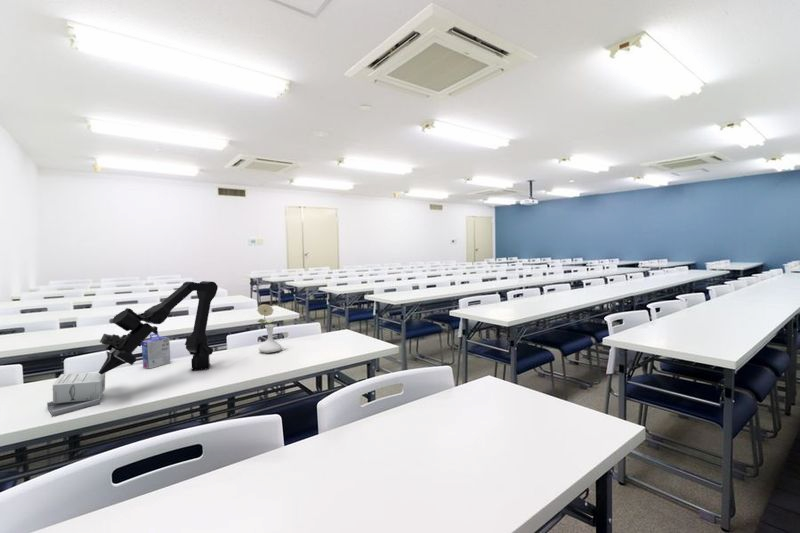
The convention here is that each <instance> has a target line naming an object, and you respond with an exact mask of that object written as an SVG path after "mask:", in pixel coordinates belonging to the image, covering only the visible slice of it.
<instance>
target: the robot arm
mask: <svg viewBox="0 0 800 533" xmlns="http://www.w3.org/2000/svg"><path fill="white" fill-rule="evenodd" d="M218 288H219V287H218V285H217V283H216V282H215V281H210V280H209V281H208V280H206V281H205V280H204V281H203V280H202V281H199V282H194V281H185V282H183V284H182V285H181V286H180V287H178V288H177V289H175V291H174V292H172V293H171V294H170V295H169V296H168V297H166V298H165V299H164V300H162V301H161V302H160V303H157V304H155V305H152V306H151V307H149V308H148V309H146V310H145V311H144V312H141V313H138V314H137V313H136V312H135V311H134V310H133V309H131V308H128V307H126V308H125V309H123V310H122V311H120V312H119V313H117V314H115V315H114V317H113V319H112V323H113V324H114V325H116V326H118V327H119V328H121V329H122V330H124V331H125V332H129V333H127V334H123V335H121V336H120V335H118V334H114V333H113V334H108V333H103V334H102V337H101V339H100V340H99V343H101V345H104V346H103V348H104V349H105V350H106V359H105V361H104V362H103V364H102V366H101V368H100V369H99V371H98V372H99V373H100V374H104V373H105V374H106V373H107V372H109V371H111V370H113V369H115V368H118V367H120V366H123V365H125V364H126V363H128V364H129V365H130V366H133V365H134V364H135V362H136V361H137V357H136V356H135V355H134V354H133V352H134V351H135V350H136V349H137V348H138V347H139V348H141V347H142V342H143V341H146V340H147V338H148V337H150V335H151V334H158V335H159V333H158V332H159V331H158V327H157V326H155V325H160V324H163V323H164V322H165V320H167V318H168V317H169V316H170V315H171V312H172V310H173V309H174V308H175V307H176V306H178V304H180V303H181V302H182V301H183V300H185V299H186V298H187V297H188V296H189V295H190V294H192V293H193V292H194V291H195V292H196V297H197V298H198V304H197V309H196V314H195V318H194V324H193V329H192V333H191V334H190V335H186V339H185V343H184V346H185V349H186V350H187V351H188V353H189V354H190V356H191V355H192V357H191V361H190V362H191V370H192V371H193V372H194V371H200V370H209V368H210V367H211V363H210V362H211V360H210V358H211V357H210V355H212V354H213V353H214V352H213V351H214V348H212V347H211V346H209V345H208V344H209V343H208V337H207V334H206V330H207V325H208V320H209V314H210V311H211V310H210V309H211V303H212V300H213V299H214V298H215V297H216V295H217V292H218ZM143 322H145V323H143ZM151 324H153V326H152V325H151ZM107 350H108V351H107Z"/></svg>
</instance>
